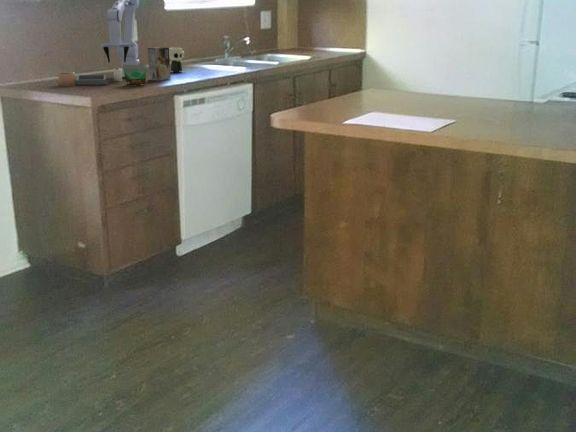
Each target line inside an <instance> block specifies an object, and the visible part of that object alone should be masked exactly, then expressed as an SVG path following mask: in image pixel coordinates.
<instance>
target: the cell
mask: <svg viewBox="0 0 576 432" xmlns="http://www.w3.org/2000/svg"><path fill="white" fill-rule="evenodd" d="M113 82H123V77H122V68H120V67H119V66H117V67H114V68H113Z"/></svg>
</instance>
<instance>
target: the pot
mask: <svg viewBox="0 0 576 432" xmlns="http://www.w3.org/2000/svg"><path fill="white" fill-rule="evenodd" d="M57 77H58V87H76V86H77V85H76V78H77V76H76V71H60V72H57Z"/></svg>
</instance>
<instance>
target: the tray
mask: <svg viewBox="0 0 576 432" xmlns="http://www.w3.org/2000/svg"><path fill="white" fill-rule="evenodd" d="M106 85H107V75H106V74H77V75H76V86H106Z"/></svg>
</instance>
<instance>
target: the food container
mask: <svg viewBox="0 0 576 432" xmlns="http://www.w3.org/2000/svg"><path fill="white" fill-rule="evenodd" d="M121 69H124V74H125V77H124V79H125V85H126V84H127V85H126V86H128V85H141V84H145V85H146V83H147V82H146V81H147V69H149V66H148V64H147V63H144V64H140V65H124V64H123V67H122V66H121Z"/></svg>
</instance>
